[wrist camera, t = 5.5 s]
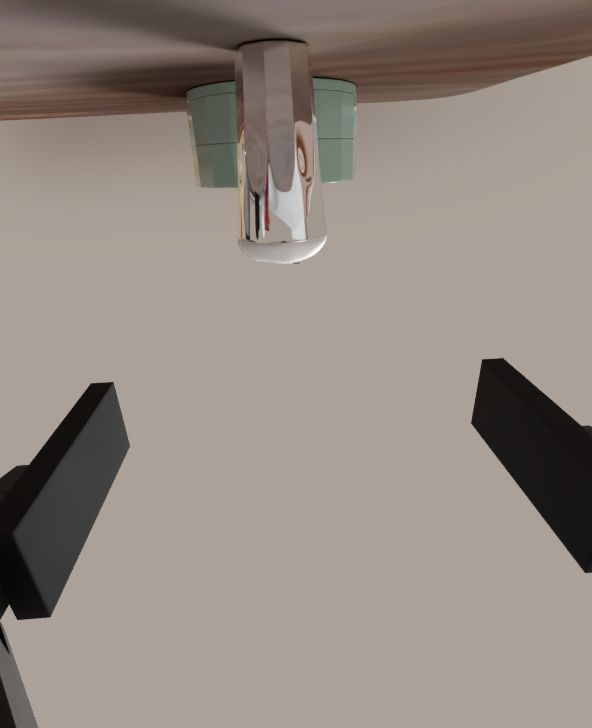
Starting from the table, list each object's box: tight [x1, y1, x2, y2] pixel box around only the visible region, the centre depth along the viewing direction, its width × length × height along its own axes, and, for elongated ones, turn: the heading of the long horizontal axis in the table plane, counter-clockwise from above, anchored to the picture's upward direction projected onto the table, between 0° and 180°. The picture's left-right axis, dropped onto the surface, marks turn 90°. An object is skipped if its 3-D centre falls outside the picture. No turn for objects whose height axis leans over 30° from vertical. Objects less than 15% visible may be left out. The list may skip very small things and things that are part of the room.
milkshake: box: [235, 40, 327, 264], centre depth 21 cm, size 4×5×10 cm
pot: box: [186, 78, 357, 188], centre depth 32 cm, size 12×12×6 cm
